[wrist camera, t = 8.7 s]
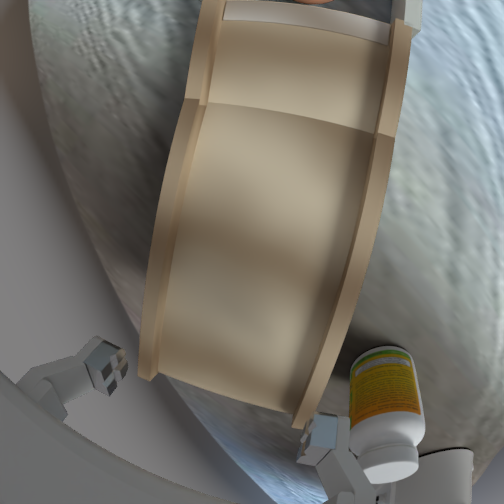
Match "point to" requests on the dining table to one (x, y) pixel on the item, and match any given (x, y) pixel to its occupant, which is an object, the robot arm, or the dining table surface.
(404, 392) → the supplement bottle
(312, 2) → the ball
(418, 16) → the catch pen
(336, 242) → the ramp
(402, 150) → the dining table surface
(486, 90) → the dining table surface
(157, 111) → the dining table surface
